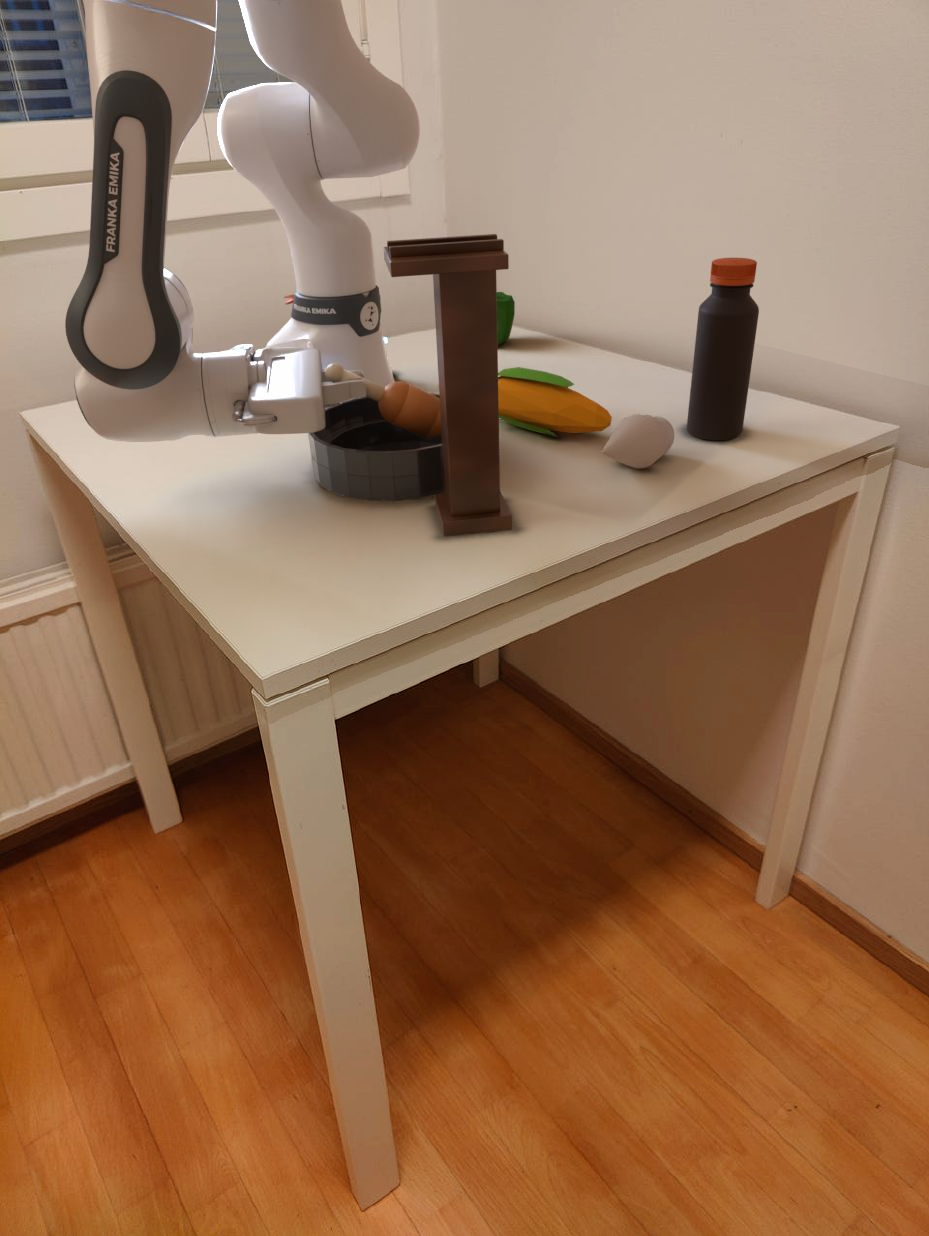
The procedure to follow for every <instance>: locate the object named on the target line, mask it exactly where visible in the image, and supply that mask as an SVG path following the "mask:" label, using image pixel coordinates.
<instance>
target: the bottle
mask: <svg viewBox="0 0 929 1236" xmlns="http://www.w3.org/2000/svg"><path fill="white" fill-rule="evenodd" d="M757 266H758V261H757V260H755V259H753V258H747V257H720V258H716V259H713V260H712V261H711V267H710V277H709V278H710V279H709V282H710V283H709V287H711V294H709V296H708V297H707V298H706V299H705V300H704V301H702V302H701V304H700V305H699V307H698V313H697V322H696V323H697V324H696V333H695V340H694V341H695V342H694V352H693V353H694V354H693V362H692V373H691V381H690V392H689V401H688V410H687V419H686V431H687V432H688V434H689V435H691V436H692V437H695V438H698V439H701V440H706V441H728V440H733V439H736V438H738V437H739V436H741V434H742V433H743V431H744V422H745V415H746V408H747V403H748V402H747V401H748V393H749V385H750V380H751V374H752V373H751V372H752V365H753V358H754V357H753V356H754V351H755V344H756V336H757V328H758V321H759V315H760V314H759V313H760V307H759V305H758V303H756V301H755V300H754V299H753V297H752V296H751V289H752V288H753V287H754V283H755V281H756V275H757Z"/></svg>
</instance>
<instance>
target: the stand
mask: <svg viewBox="0 0 929 1236" xmlns="http://www.w3.org/2000/svg"><path fill="white" fill-rule="evenodd" d="M504 242H505V240H504V239H503V238H498V235H497V233H487V234H475V235H474V234H473V235H472V234H471V235H459V236H443V237H441V236H440V237H427V238H411V239H397V240H396V239H395V240H387V241H386V246H383V257H384V262H385V264H386V267H387V269H388V272H389V275H390V277H391V278H403V277H414V276H415V277H416V276H430V275H432V281H433V283H432V284H433V299H434V300H433V301H434V319H435V321H434V323H435V339H436V340H435V341H436V357H437V358H436V359H437V372H438V375H437V376H438V377H437V378H438V392H439V393H438V394H439V396H440V414H441V433H442V451H443V470H444V488H445V493H442V494H435V495H434V496H433V497H434V508H435V513H436V515H437V518H438V522H439V525H440V529H441V532H442V536H443V537H450V536H462V535H469V534H471V535H472V534H480V533H491V532H497V531H498V532H500V531H509V530H513V515H512V512H511V510H510V508H509V505H508V504H507V501H506V499H505V497H504V495H503V493H502V491H501V475H500V474H501V464H500V463H501V462H500V460H501V459H500V418H499V400H498V377H499V375H498V373H499V354H498V353H499V350H498V346H499V345H498V342H497V292H498V291H497V289H498V287H497V271H503V270H509V265H510V263H509V260H510V259H509V253H508V252H506V251H505V243H504Z"/></svg>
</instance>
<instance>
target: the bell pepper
mask: <svg viewBox="0 0 929 1236" xmlns="http://www.w3.org/2000/svg"><path fill="white" fill-rule="evenodd" d="M515 303H516V302H515V300H514V298H513V296H512V295H510V294H506V293H505V292H504V291H497V342H498V346H499V345H502V344H503V343H506V342H508V340H509V338H510V337H511V332H512V328H513V324H514V318H515V312H516V311H515V308H516V307H515V306H516V305H515Z"/></svg>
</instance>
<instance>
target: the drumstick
mask: <svg viewBox="0 0 929 1236" xmlns="http://www.w3.org/2000/svg"><path fill="white" fill-rule="evenodd" d="M325 375H326V378H327V379H328V381H330V382H333V383H336V382H342V381H349V378H363V377H360V376H358V375H356V374H354V373H352V372H350V371H348V370H345V369H343V367H342V366H341V365H339V364H336V363H333V364H330V365H329V366H328V367H327V368H326V371H325ZM363 379H364V380H365V383H366V393H367V394H366V397H369V398H371V399H373V400H375V401H377V402H378V406H379V410H380V412H381V414H382V416H383V417H384V418H385V419H386V420H387V421H388V422H390V423H392V424H394V425H396V426H398V427H401V428H403V429H405V430H407V431H409V432H412V433H414V434H416V435H418V436H421V437H423V438H426V439H437V438H440V437H442V433H441V414H440V398H438V397H436V396H434V395H432V394H433V393H431V394H430V392H428V391H425V390H423V389H421V388H419V387H417V386H415V385H413V384H411V383H409V382H406V381H400V380H397V381H395V382H392V383H390V384H388V385H387V386H386V387H382V386H380V385H378V384H375V383H373V382H371V381H369V380H367V379H365V378H363Z"/></svg>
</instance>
